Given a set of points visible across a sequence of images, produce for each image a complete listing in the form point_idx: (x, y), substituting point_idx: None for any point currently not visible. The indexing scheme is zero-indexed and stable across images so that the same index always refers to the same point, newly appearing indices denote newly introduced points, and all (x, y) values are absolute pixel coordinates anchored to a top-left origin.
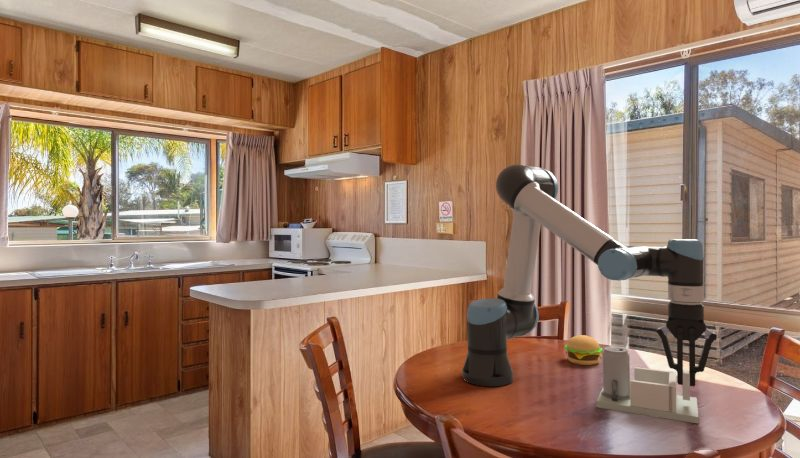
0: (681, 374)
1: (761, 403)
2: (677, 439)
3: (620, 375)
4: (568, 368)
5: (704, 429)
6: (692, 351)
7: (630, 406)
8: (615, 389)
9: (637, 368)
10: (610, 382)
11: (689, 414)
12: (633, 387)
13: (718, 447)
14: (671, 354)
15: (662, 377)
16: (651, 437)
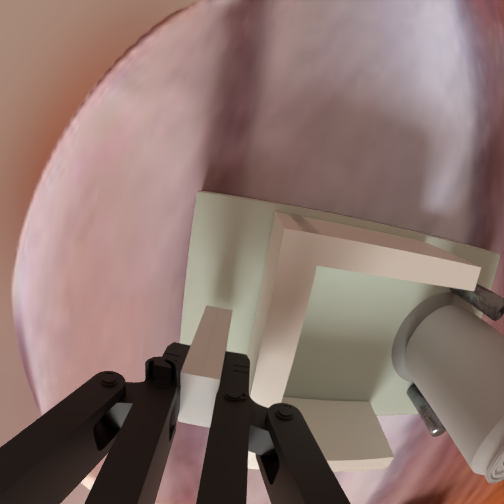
0: (226, 383)
1: (45, 402)
2: (298, 31)
3: (486, 342)
4: (442, 487)
5: (192, 140)
6: (115, 484)
7: (424, 235)
8: (481, 286)
9: (383, 457)
10: (491, 326)
11: (225, 211)
12: (455, 257)
13: (188, 15)
14: (284, 488)
15: None
16: (370, 32)
